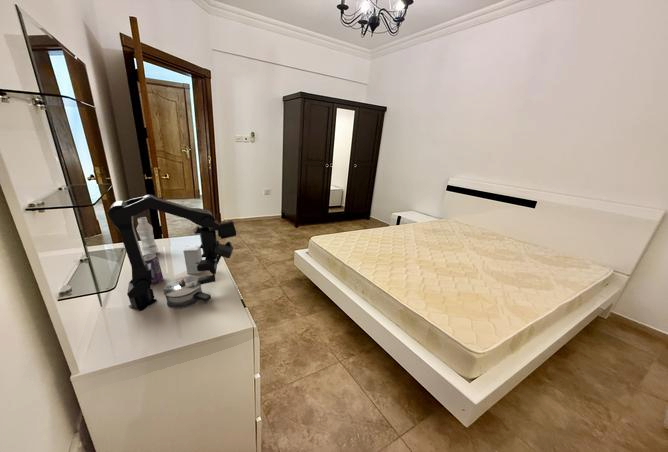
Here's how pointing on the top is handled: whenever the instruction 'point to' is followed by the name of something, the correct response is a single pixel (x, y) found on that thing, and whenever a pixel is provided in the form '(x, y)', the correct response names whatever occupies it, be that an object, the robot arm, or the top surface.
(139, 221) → the plastic bottle
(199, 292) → the pot
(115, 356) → the top surface
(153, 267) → the beverage can
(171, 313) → the top surface
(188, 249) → the skincare box
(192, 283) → the lid
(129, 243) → the robot arm
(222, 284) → the top surface
